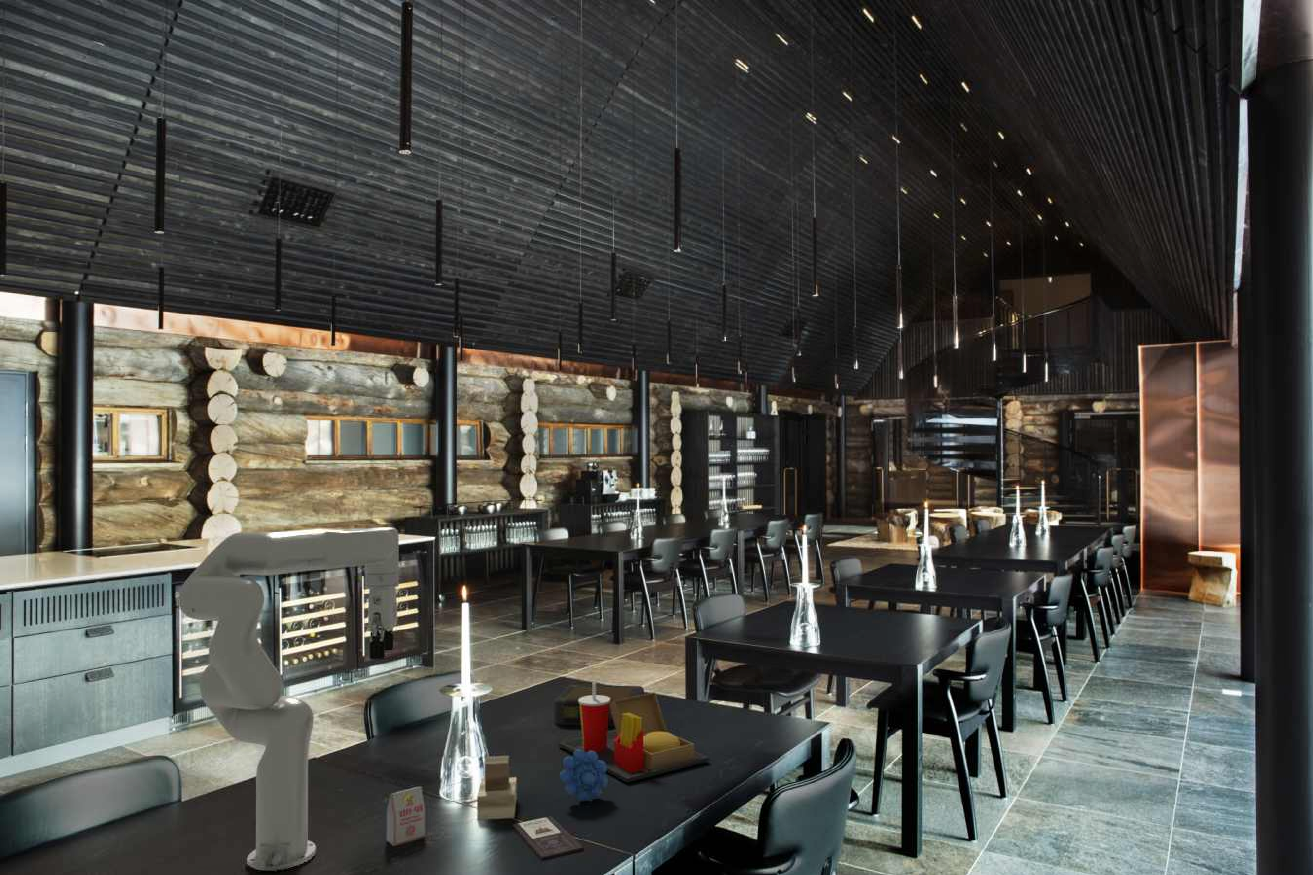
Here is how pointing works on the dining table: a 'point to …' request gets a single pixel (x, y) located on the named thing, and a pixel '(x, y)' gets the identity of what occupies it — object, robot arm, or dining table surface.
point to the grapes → (584, 775)
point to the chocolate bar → (547, 837)
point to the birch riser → (497, 801)
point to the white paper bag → (405, 816)
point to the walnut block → (497, 773)
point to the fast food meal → (631, 737)
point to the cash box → (568, 699)
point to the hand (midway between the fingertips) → (381, 654)
